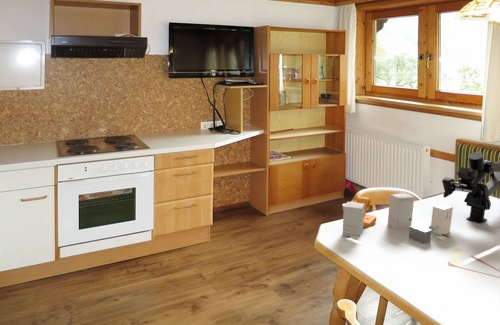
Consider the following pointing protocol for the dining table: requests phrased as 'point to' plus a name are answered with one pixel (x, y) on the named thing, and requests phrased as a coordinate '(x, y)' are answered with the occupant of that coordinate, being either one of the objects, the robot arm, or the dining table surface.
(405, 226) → the skincare box
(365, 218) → the bracket
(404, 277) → the dining table surface
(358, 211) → the supplement box
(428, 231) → the dark gray block
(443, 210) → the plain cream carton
